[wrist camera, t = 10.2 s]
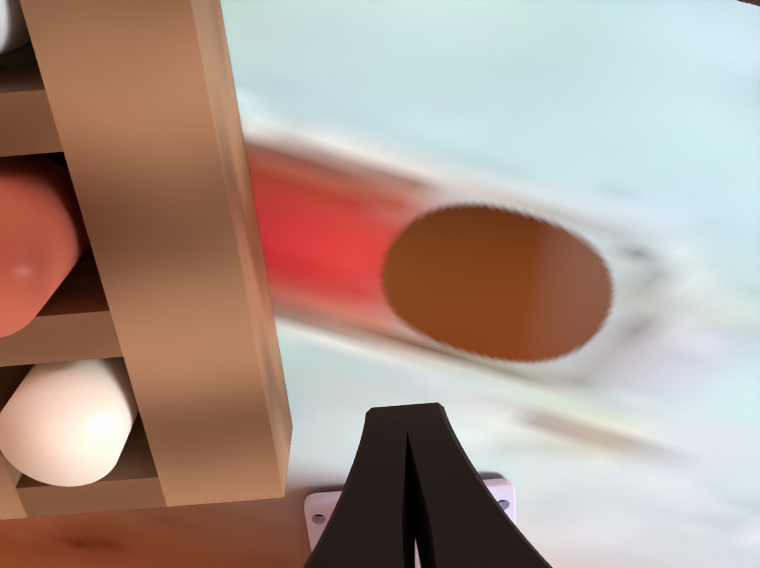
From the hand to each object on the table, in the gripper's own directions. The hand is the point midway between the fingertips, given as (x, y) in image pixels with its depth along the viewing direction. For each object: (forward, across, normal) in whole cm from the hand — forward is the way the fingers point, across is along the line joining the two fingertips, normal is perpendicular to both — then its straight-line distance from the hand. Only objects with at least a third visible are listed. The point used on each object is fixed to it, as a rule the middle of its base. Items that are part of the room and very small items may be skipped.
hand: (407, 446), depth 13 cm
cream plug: (+10, +10, +4) cm, 15 cm away
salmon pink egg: (+9, +10, -2) cm, 14 cm away
